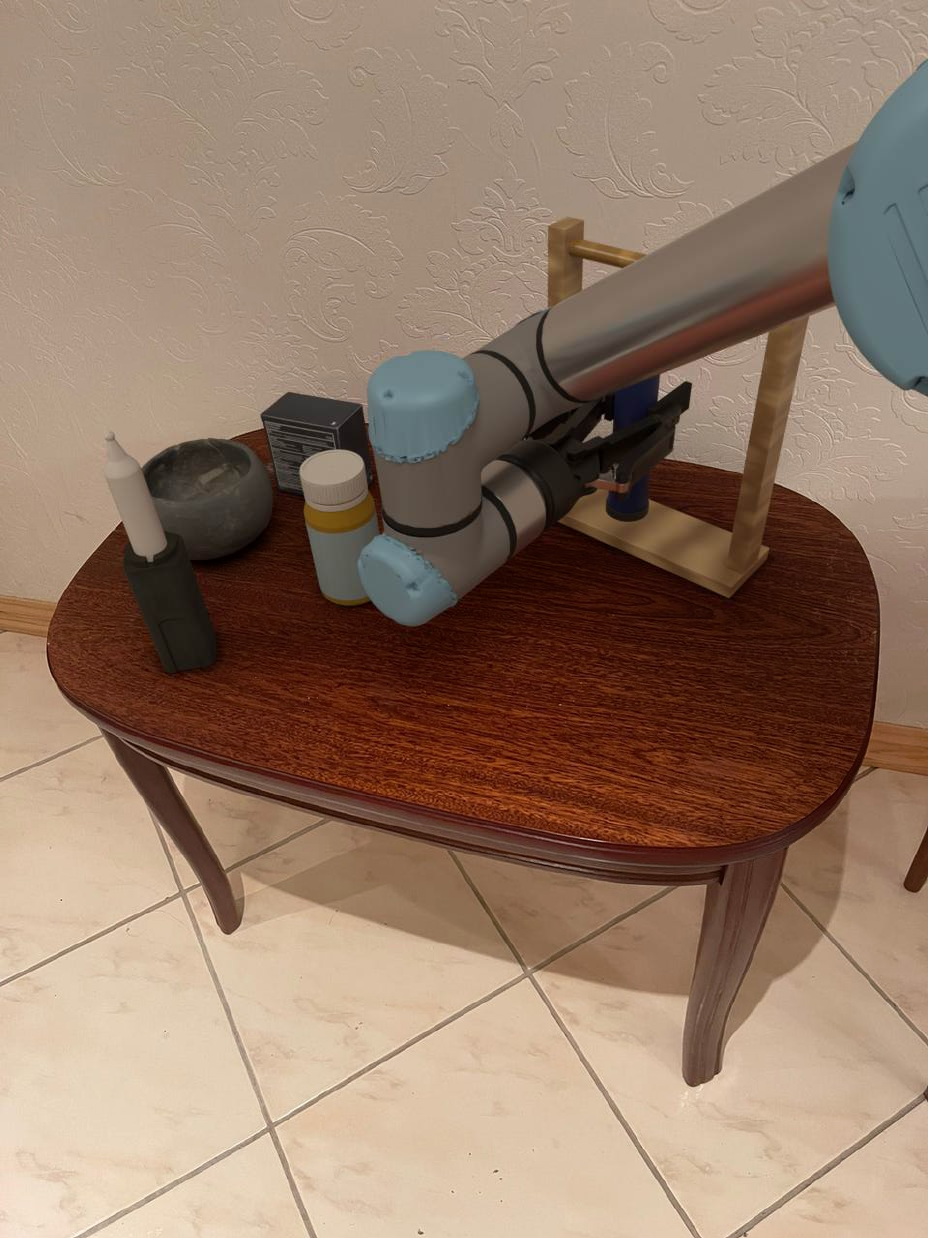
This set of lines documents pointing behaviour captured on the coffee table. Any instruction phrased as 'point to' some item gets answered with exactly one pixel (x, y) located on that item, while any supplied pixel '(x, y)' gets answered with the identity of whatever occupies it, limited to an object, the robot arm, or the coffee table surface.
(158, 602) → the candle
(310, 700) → the coffee table surface
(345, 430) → the small box
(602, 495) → the rack
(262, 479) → the bowl
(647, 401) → the umbrella
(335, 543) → the bottle
